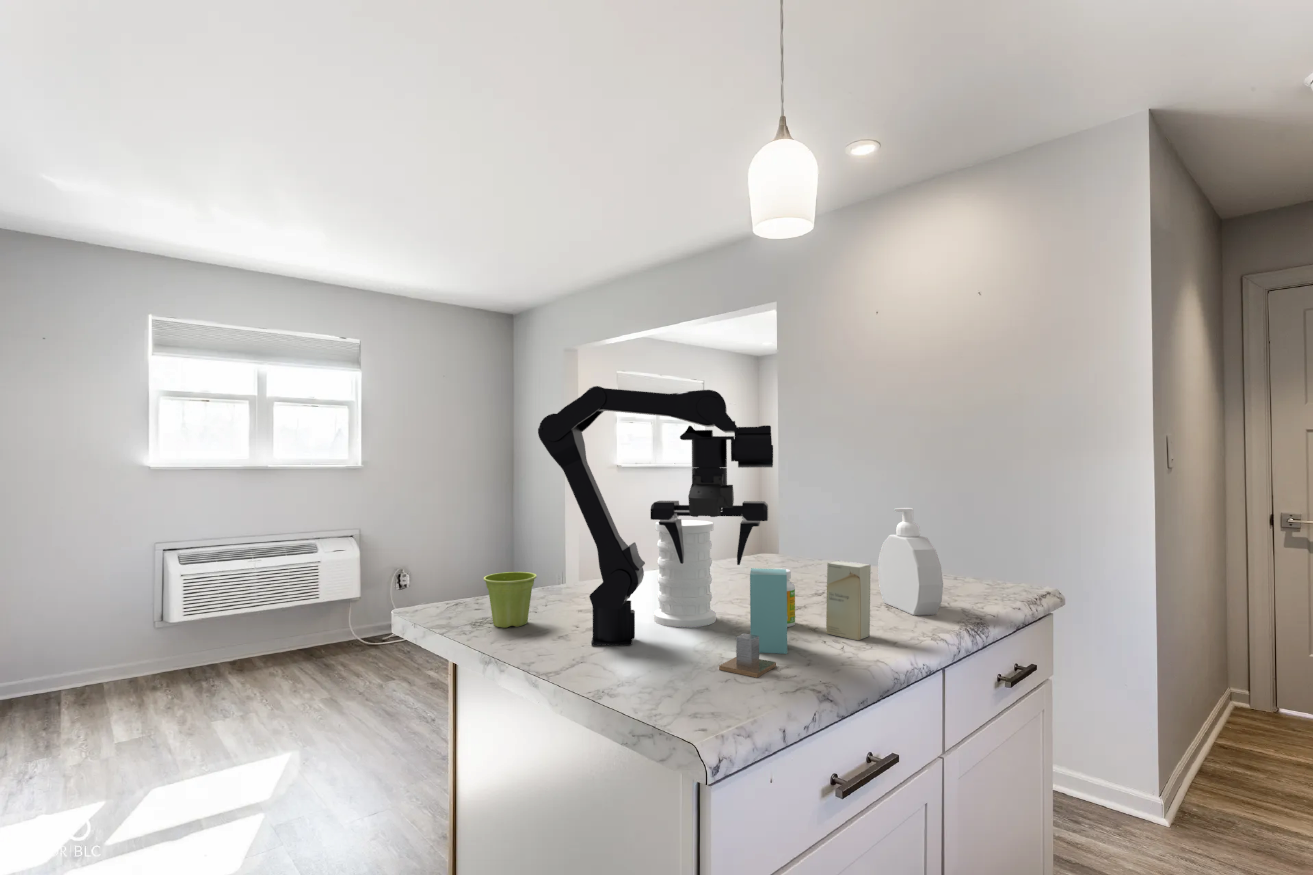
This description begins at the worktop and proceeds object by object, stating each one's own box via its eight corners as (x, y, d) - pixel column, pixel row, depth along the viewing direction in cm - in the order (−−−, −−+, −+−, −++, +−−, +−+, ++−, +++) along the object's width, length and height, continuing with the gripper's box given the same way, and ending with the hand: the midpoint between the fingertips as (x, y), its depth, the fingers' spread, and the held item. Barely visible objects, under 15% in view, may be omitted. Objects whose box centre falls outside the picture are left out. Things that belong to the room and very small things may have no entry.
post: (719, 669, 95) (719, 637, 95) (739, 659, 100) (739, 628, 100) (757, 677, 91) (757, 644, 91) (776, 666, 96) (775, 634, 96)
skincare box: (825, 634, 114) (824, 562, 114) (838, 629, 117) (837, 559, 117) (860, 641, 109) (859, 566, 110) (872, 635, 113) (871, 563, 113)
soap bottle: (876, 600, 140) (874, 505, 141) (899, 599, 141) (898, 505, 141) (918, 618, 124) (916, 511, 125) (944, 617, 125) (942, 511, 126)
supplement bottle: (795, 628, 118) (794, 573, 118) (764, 626, 119) (764, 572, 119) (795, 621, 123) (794, 568, 123) (765, 619, 124) (765, 567, 124)
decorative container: (707, 629, 117) (707, 526, 118) (645, 624, 121) (645, 524, 121) (721, 614, 128) (721, 520, 129) (664, 610, 132) (664, 519, 132)
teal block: (750, 651, 103) (750, 574, 104) (751, 642, 109) (751, 568, 109) (787, 653, 102) (786, 575, 103) (786, 643, 108) (785, 569, 108)
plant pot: (515, 633, 115) (515, 582, 115) (472, 627, 119) (472, 578, 119) (546, 620, 124) (546, 573, 124) (505, 615, 128) (506, 570, 128)
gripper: (643, 468, 103) (643, 570, 102) (765, 468, 99) (767, 574, 99) (656, 467, 114) (657, 559, 113) (767, 467, 110) (768, 562, 110)
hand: (710, 563), depth 108 cm, fingers open, 9 cm apart
